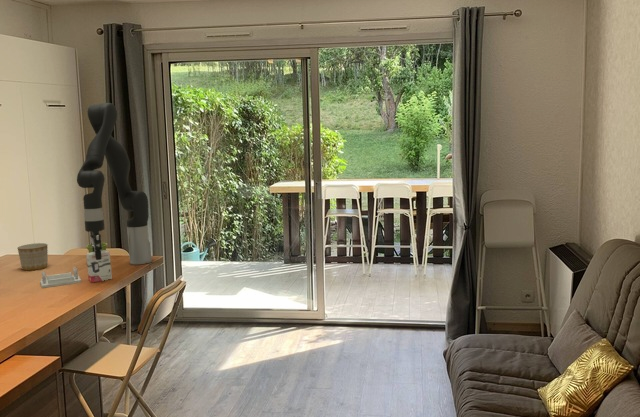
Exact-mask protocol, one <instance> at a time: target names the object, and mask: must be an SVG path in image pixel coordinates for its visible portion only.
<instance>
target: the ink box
mask: <svg viewBox="0 0 640 417" xmlns="http://www.w3.org/2000/svg"><path fill="white" fill-rule="evenodd" d="M85 256H86V264H87V265H86V267H87V275H88V281H89V282H90V283H99V282H102V281H103V282H104V280H105V281H109V280H108V279H111V280H112V279H113V274H112V263H111V253H110V251H108V250H107V249H106V250H103V251H101V260H96V257H95V252H90V253H89V252H87V253H86V255H85Z"/></svg>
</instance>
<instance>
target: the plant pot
mask: <svg viewBox="0 0 640 417" xmlns="http://www.w3.org/2000/svg"><path fill="white" fill-rule="evenodd" d="M101 243H102V244H101V246H102V249H101V251H103V250H107V247H108V243H106V242H101ZM98 247H99V246H98ZM86 249H87V252H88V253H90V252H93V247H92V245H91V243H90V244H87V245H86Z"/></svg>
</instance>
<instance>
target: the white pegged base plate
mask: <svg viewBox="0 0 640 417" xmlns="http://www.w3.org/2000/svg"><path fill="white" fill-rule="evenodd" d="M72 270H73V271H72V272H66V273H65V272H63V273H58V274H48V275H46V272H45V271H41V279H40V280H39V281H40V286H41V289H46V288H52V287H57V286H60V287H61V286H66V285H67V286H68V285H72V284H80V283H82V279H81V277H80V276H79V274H78V269H77V267H76V266H74V267H72Z"/></svg>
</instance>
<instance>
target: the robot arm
mask: <svg viewBox="0 0 640 417" xmlns="http://www.w3.org/2000/svg"><path fill="white" fill-rule="evenodd" d="M86 112H87V118H88V121H89V123H90V125H91V127H92V129H93V131H94V132H95V136H94V137H93V139H92V140H91V142H89V145H88V147H87V150H86V156H85V159H84V162H83V164H82V165H81V167H80V169H79V171H78V173H77V176H76V183H77V185H78V186H79V187H80V188H82V189H91V188H93V190H92V191H91V193H86V194H84V195H83V199H82V200H83V211H84V212H83V218H84V229H85V230H84V231H86V232H87V233H88V232H89V233H90V234H89V238H90V244H91V245H92V247H93V252H95V257H96V260H101V249H102V246H101V244H102V243H103V242H102V235H101V234H100V232H102V231H104V230H105V219H104V210H103V200H102V199H103V198H102V196H103V190H104V185H105V180H106V178H105V174H104V173H103V172H102V171H101V170H98V169H101V168H102V167H103V165H104V159H105V160H106V162H107V165H108V168H109V170H110V172H111V175H112V178H113V181H114V183H115V187H116V190H117V194H118V198H119V202H120V205H121V207H122V208H123V210H125V211H128V212H133V216H132V218H129V219H127V220H126V230H127V231H126V233H127V242H128V244H127V245H128V254H129V263H130V265H144V264H148V263H152V259H153V258H152V250H151V249H152V248H151V241H150V238H149V225H148V224H149V222H148V221H149V218H150V217H149V214H150V213H149V199H148V196H147V194H146V193H145V191H141V190H133V189H132V188H131V186H130V185H131V184H130V182H129V174H130V169H131V162H130V161H131V160H130V158H129V155H128V153H127V150H126V148H125V147H124V146H123V145H122V144H121V143H120V142H119V141H118V140H117V139H116V138H114V137H113V136H112V135H113V134H112V133H113V132H114V131H113V130H114V128H115V125H116V123H117V119H118V110H117V108H116V106H115V105H114V104H113V103H111V102H103V103H96V104H92V105H89V106H88V108H87V111H86ZM98 246H99V247H98Z"/></svg>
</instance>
